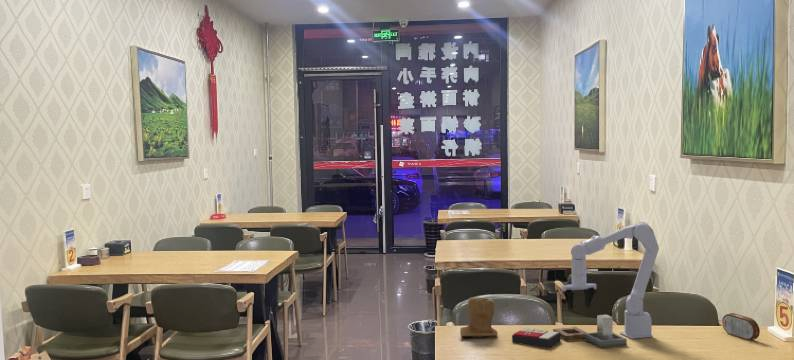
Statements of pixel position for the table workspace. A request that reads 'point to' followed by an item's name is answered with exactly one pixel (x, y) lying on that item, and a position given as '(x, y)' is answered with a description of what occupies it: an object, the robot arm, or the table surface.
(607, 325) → the lock pin
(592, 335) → the tray
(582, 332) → the brown square frame
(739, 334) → the oval speaker
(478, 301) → the brown wooden stand
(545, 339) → the red black box
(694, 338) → the table surface
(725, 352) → the table surface
